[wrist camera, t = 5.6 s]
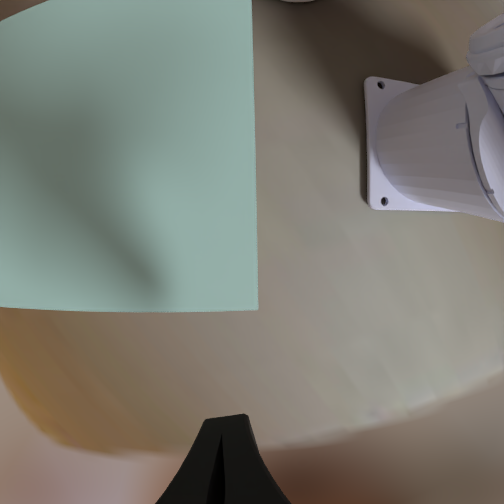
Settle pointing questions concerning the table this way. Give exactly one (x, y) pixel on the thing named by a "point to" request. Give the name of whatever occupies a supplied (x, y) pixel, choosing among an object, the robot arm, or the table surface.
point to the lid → (128, 157)
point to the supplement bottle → (297, 0)
